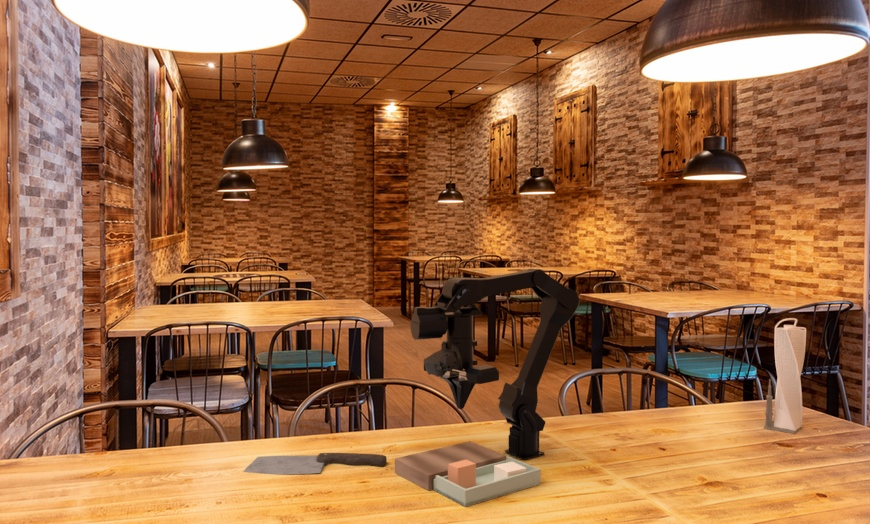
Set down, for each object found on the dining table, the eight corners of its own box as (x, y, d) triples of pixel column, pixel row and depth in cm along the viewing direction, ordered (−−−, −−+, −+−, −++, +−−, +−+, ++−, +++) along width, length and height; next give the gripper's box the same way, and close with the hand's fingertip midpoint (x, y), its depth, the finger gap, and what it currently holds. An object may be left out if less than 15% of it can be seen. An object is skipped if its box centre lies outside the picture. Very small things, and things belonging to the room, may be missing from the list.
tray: (507, 470, 139) (507, 455, 139) (540, 484, 132) (540, 469, 131) (433, 490, 128) (433, 474, 128) (465, 507, 120) (465, 490, 120)
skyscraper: (774, 421, 177) (776, 316, 175) (808, 427, 171) (811, 319, 170) (763, 428, 170) (766, 319, 169) (798, 434, 165) (801, 322, 164)
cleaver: (387, 460, 146) (387, 450, 146) (384, 476, 137) (384, 465, 137) (253, 461, 146) (253, 452, 146) (240, 477, 136) (240, 467, 136)
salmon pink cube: (465, 459, 131) (475, 463, 128) (465, 482, 131) (475, 486, 129) (447, 464, 128) (457, 468, 126) (447, 487, 128) (457, 492, 126)
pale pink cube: (526, 468, 130) (526, 483, 130) (512, 461, 134) (512, 476, 134) (507, 472, 128) (507, 487, 128) (494, 465, 132) (494, 480, 132)
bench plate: (470, 454, 149) (470, 441, 149) (506, 469, 140) (506, 455, 140) (394, 472, 138) (394, 458, 138) (428, 490, 128) (428, 475, 128)
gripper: (403, 335, 145) (404, 406, 146) (459, 346, 131) (460, 425, 131) (443, 330, 152) (443, 398, 153) (500, 340, 138) (501, 415, 138)
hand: (460, 408), depth 144 cm, fingers closed
